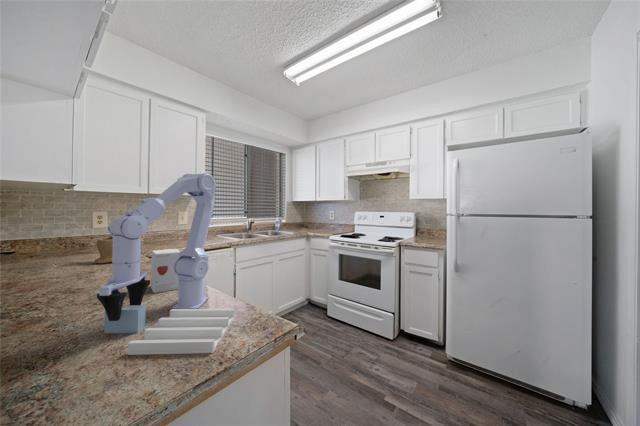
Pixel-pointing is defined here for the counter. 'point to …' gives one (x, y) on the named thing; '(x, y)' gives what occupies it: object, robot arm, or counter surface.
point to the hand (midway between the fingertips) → (125, 313)
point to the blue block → (127, 320)
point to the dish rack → (184, 332)
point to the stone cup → (105, 249)
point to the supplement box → (164, 270)
